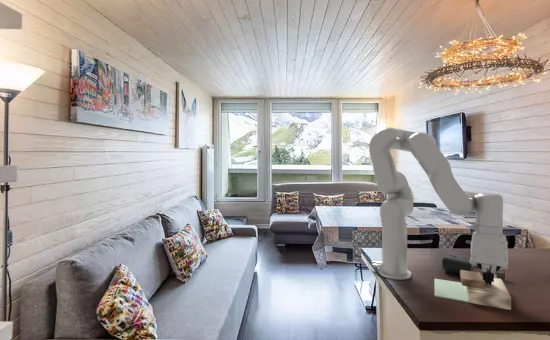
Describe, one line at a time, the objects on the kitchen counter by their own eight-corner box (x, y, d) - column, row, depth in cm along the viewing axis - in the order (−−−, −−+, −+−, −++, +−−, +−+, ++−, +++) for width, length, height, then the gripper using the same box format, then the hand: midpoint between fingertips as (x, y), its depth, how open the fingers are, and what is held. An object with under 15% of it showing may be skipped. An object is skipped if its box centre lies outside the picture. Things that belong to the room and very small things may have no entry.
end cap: (441, 273, 123) (442, 257, 123) (446, 268, 128) (446, 253, 128) (470, 279, 116) (470, 262, 116) (474, 274, 121) (474, 258, 121)
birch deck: (468, 302, 98) (469, 290, 97) (464, 284, 112) (464, 273, 112) (511, 310, 92) (511, 297, 92) (501, 289, 106) (501, 278, 106)
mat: (434, 296, 102) (434, 295, 102) (434, 279, 116) (434, 278, 116) (470, 302, 97) (470, 301, 97) (466, 284, 111) (466, 283, 111)
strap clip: (489, 276, 120) (489, 265, 120) (498, 276, 119) (498, 265, 119) (502, 284, 111) (502, 273, 111) (511, 285, 111) (511, 273, 111)
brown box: (462, 285, 101) (462, 278, 101) (460, 276, 109) (460, 269, 109) (483, 288, 98) (483, 281, 98) (479, 279, 106) (479, 272, 106)
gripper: (463, 230, 101) (463, 283, 102) (519, 234, 94) (518, 291, 95) (461, 225, 108) (461, 275, 108) (513, 229, 101) (513, 283, 101)
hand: (488, 283), depth 102 cm, fingers closed
